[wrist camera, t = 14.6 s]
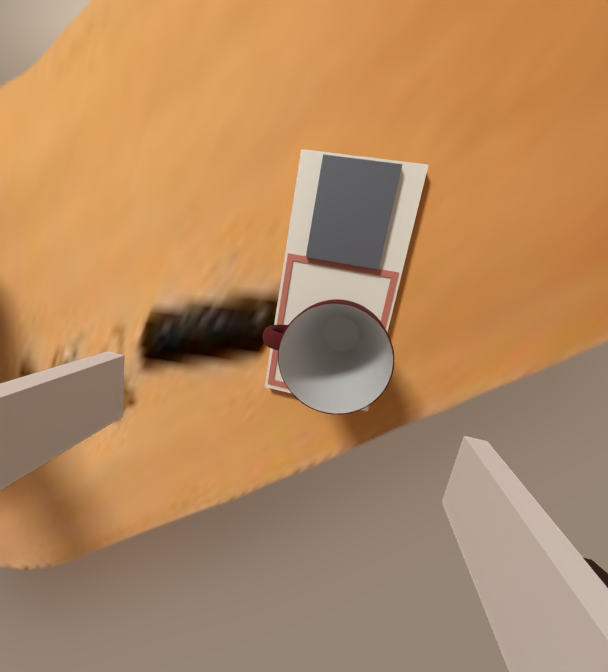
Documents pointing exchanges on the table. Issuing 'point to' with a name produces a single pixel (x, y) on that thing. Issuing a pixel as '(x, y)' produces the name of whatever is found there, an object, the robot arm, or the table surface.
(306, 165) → the board
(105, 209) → the table surface
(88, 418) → the robot arm
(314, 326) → the mug
